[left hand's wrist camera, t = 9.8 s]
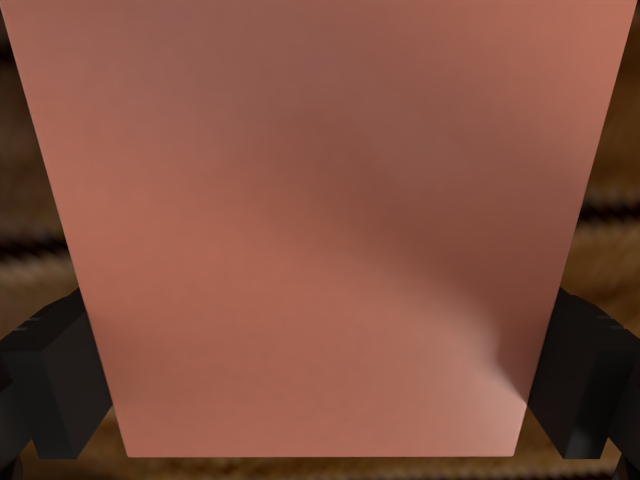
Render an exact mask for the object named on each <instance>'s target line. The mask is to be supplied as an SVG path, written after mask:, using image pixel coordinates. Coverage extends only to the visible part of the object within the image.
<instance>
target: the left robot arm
mask: <svg viewBox="0 0 640 480" xmlns="http://www.w3.org/2000/svg"><path fill="white" fill-rule="evenodd" d="M112 405H113V404H112V400H111V397H110V393H109V390H108V386H107V383H106V379H105V376H104V372H103V369H102V365H101V362H100V358H99V354H98V351H97V347H96V344H95V340H94V337H93V333H92V330H91V326H90V323H89V319H88V316H87V312H86V308H85V305H84V301H83V298H82V294H81V291H80V287H79V288H77V289H76V290H75V291H74V292H72V293H71V294H70V295H69V296H67V297H63V298H61V299H59V300H57V301H55V302H53V303H51V304H49V305H47V306H45V307H43V308H42V309H41V310H39V311H38V312H37V313H36V314H34V315H33V316H32V317H30V318H29V321H25V322H24V323H23V324H21V325H20V326H19V327H17V330H16V331H12V332H11V333H10V334H8V335H7V336H6V337H4V338H3V339H2V340H1V341H0V480H22V475H23V467H22V462H21V459H20V457H19V453H20V452H21V451H22V449H23V448H24V447H25V446H26V445H27V443H28V442H29V441H30V440H31V439H33V442H34V445H35V447H36V450H37V453H38V456H39V458H40V459H77V457H78V456H79V454H80V453H81V451H82V450H83V448H84V447H85V445H86V444H87V442H88V441H89V439H90V438H91V436H92V435H93V433H94V432H95V430H96V429H97V427H98V426H99V424H100V423H101V421H102V420H103V418H104V417H105V415H106V414H107V412H108V411H109V409H110V408H111V406H112ZM527 405H528V407H529V408H530V410H531V411H532V413H533V414H534V416H535V417H536V419H537V420H538V422H539V423H540V425H541V426H542V428H543V429H544V431H545V432H546V434H547V435H548V437H549V438H550V440H551V441H552V443H553V444H554V446H555V447H556V449H557V450H558V452H559V453H560V455H561V456H562V458H563V459H600V457H601V454H602V451H603V449H604V446H605V443H606V441H607V438H608V437H609V438H610V439H611V441H612V442H613V443H614V444H615V445H616V447H617V448H618V449H619V450H620V451H621V453H622V454H621V457H620V459H619V462H618V464H617V467H616V469H615V472H614V474H613V477H612V479H611V480H640V339H639V338H638V337H636V336H635V335H634V334H632V333H631V332H630V331H629V330H627V329H624V328H623V326H622V325H621V324H619V323H618V322H617V321H615V320H614V319H611V317H610V316H609V315H608V314H606V313H605V312H604V311H602V310H601V309H600V308H598V307H597V306H596V305H594V304H592V303H590V302H588V301H586V300H584V299H582V298H579V297H577V296H575V295H570V294H568V293H567V292H566V291H565V290H563V289H562V288H561V287H560V286H559V290H558V293H557V297H556V301H555V305H554V308H553V312H552V316H551V319H550V323H549V327H548V330H547V334H546V338H545V341H544V345H543V349H542V352H541V356H540V360H539V363H538V367H537V371H536V374H535V378H534V382H533V385H532V389H531V393H530V396H529V400H528V404H527Z"/></svg>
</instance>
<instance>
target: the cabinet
mask: <svg viewBox="0 0 640 480" xmlns="http://www.w3.org/2000/svg"><path fill="white" fill-rule="evenodd" d="M636 3H637V0H0V8H1V11H2V15H3V18H4V22H5V25H6V29H7V33H8V36H9V40H10V43H11V47H12V50H13V54H14V57H15V61H16V64H17V68H18V71H19V75H20V78H21V82H22V86H23V89H24V93H25V96H26V100H27V103H28V107H29V110H30V114H31V117H32V121H33V124H34V128H35V132H36V135H37V139H38V142H39V146H40V149H41V153H42V156H43V160H44V163H45V167H46V170H47V174H48V178H49V181H50V185H51V188H52V192H53V195H54V199H55V202H56V206H57V209H58V213H59V216H60V220H61V224H62V227H63V231H64V234H65V238H66V241H67V245H68V248H69V252H70V255H71V259H72V262H73V266H74V270H75V273H76V277H77V280H78V284H79V287H80V291H81V294H82V298H83V301H84V305H85V308H86V312H87V316H88V319H89V323H90V326H91V330H92V333H93V337H94V340H95V344H96V347H97V351H98V354H99V358H100V362H101V365H102V369H103V372H104V376H105V379H106V383H107V386H108V390H109V393H110V397H111V400H112V404H113V407H114V411H115V415H116V418H117V422H118V425H119V429H120V432H121V436H122V439H123V443H124V446H125V450H126V453H127V456H128V457H456V456H513V455H514V451H515V448H516V444H517V440H518V437H519V433H520V429H521V426H522V422H523V418H524V415H525V411H526V407H527V404H528V400H529V396H530V393H531V389H532V385H533V382H534V378H535V374H536V371H537V367H538V363H539V360H540V356H541V352H542V349H543V345H544V341H545V338H546V334H547V330H548V327H549V323H550V319H551V316H552V312H553V308H554V305H555V301H556V297H557V293H558V290H559V286H560V282H561V279H562V275H563V271H564V268H565V264H566V260H567V257H568V253H569V249H570V246H571V242H572V238H573V235H574V231H575V227H576V224H577V220H578V216H579V213H580V209H581V205H582V202H583V198H584V194H585V191H586V187H587V183H588V180H589V176H590V172H591V169H592V165H593V161H594V158H595V154H596V150H597V147H598V143H599V139H600V136H601V132H602V128H603V125H604V121H605V117H606V113H607V110H608V106H609V102H610V99H611V95H612V91H613V88H614V84H615V80H616V77H617V73H618V69H619V66H620V62H621V58H622V55H623V51H624V47H625V44H626V40H627V36H628V33H629V29H630V25H631V22H632V18H633V14H634V11H635V7H636Z"/></svg>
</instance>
